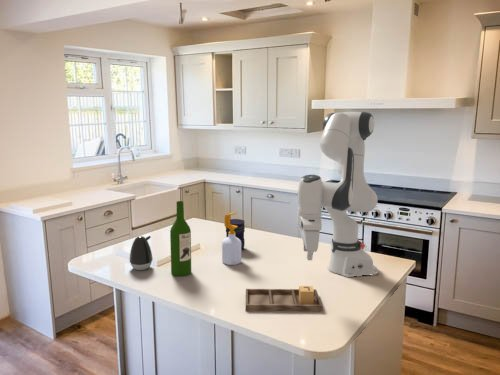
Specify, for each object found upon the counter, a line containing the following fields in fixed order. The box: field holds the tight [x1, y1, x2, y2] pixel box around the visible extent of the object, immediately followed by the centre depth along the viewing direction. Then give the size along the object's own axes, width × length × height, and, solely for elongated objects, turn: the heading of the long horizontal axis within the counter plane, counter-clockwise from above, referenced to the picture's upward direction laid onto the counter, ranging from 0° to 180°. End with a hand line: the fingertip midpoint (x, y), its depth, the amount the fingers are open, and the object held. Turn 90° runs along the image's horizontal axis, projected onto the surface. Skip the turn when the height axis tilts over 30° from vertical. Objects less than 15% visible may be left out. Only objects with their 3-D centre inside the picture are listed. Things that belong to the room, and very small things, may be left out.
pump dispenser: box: [129, 235, 154, 271], centre depth 190 cm, size 10×10×15 cm
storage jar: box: [225, 218, 246, 252], centre depth 218 cm, size 10×10×15 cm
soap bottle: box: [221, 211, 242, 266], centre depth 199 cm, size 9×9×25 cm
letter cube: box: [298, 285, 314, 304], centre depth 159 cm, size 5×5×5 cm
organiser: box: [245, 288, 323, 312], centre depth 159 cm, size 28×14×2 cm, turn 90°
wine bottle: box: [169, 200, 192, 278], centre depth 184 cm, size 9×9×32 cm
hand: (307, 255), depth 156 cm, fingers open, 8 cm apart
